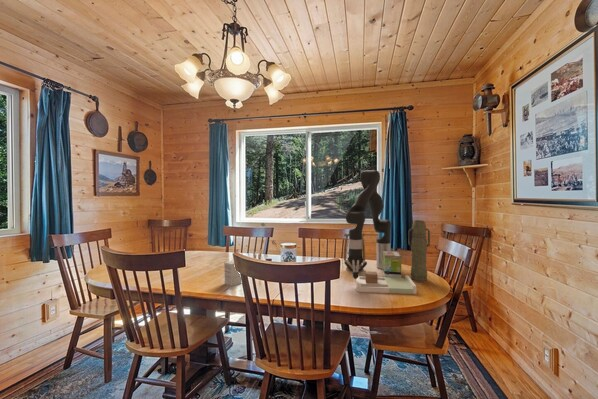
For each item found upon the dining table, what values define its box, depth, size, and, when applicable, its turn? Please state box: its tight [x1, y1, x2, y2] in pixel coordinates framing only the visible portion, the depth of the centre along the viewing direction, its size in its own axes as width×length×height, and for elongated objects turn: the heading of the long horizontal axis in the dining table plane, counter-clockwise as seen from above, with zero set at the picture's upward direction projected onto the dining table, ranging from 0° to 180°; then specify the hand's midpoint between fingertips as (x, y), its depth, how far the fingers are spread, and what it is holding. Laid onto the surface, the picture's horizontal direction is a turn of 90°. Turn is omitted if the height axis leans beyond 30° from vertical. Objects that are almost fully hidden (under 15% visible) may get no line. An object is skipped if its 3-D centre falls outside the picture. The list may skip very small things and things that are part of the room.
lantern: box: [343, 224, 366, 273], centre depth 200 cm, size 14×12×30 cm
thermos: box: [407, 219, 431, 283], centre depth 175 cm, size 9×12×35 cm
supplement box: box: [223, 260, 242, 287], centre depth 170 cm, size 7×7×13 cm
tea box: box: [382, 250, 403, 278], centre depth 182 cm, size 15×10×15 cm, turn 168°
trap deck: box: [355, 275, 418, 295], centre depth 162 cm, size 20×30×4 cm
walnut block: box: [364, 270, 379, 284], centre depth 163 cm, size 6×6×5 cm
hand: (355, 278), depth 165 cm, fingers closed
